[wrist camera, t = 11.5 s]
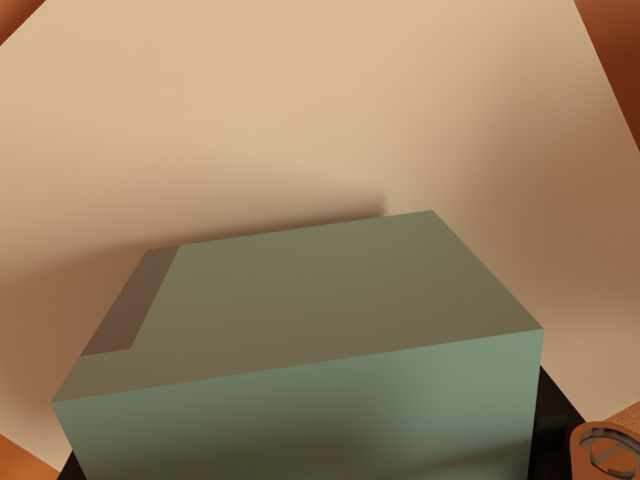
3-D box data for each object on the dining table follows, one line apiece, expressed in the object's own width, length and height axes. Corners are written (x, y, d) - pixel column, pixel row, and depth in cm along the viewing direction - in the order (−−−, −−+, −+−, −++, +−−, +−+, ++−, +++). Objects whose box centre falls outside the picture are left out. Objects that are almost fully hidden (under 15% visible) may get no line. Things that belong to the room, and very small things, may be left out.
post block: (267, 565, 20) (261, 785, 14) (-181, 257, 13) (-581, 441, 7) (689, 326, 16) (922, 489, 10) (393, -306, 9) (605, -982, 3)
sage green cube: (434, 420, 14) (512, 605, 9) (209, 455, 14) (175, 663, 9) (432, 209, 11) (543, 328, 6) (146, 249, 11) (49, 403, 6)
